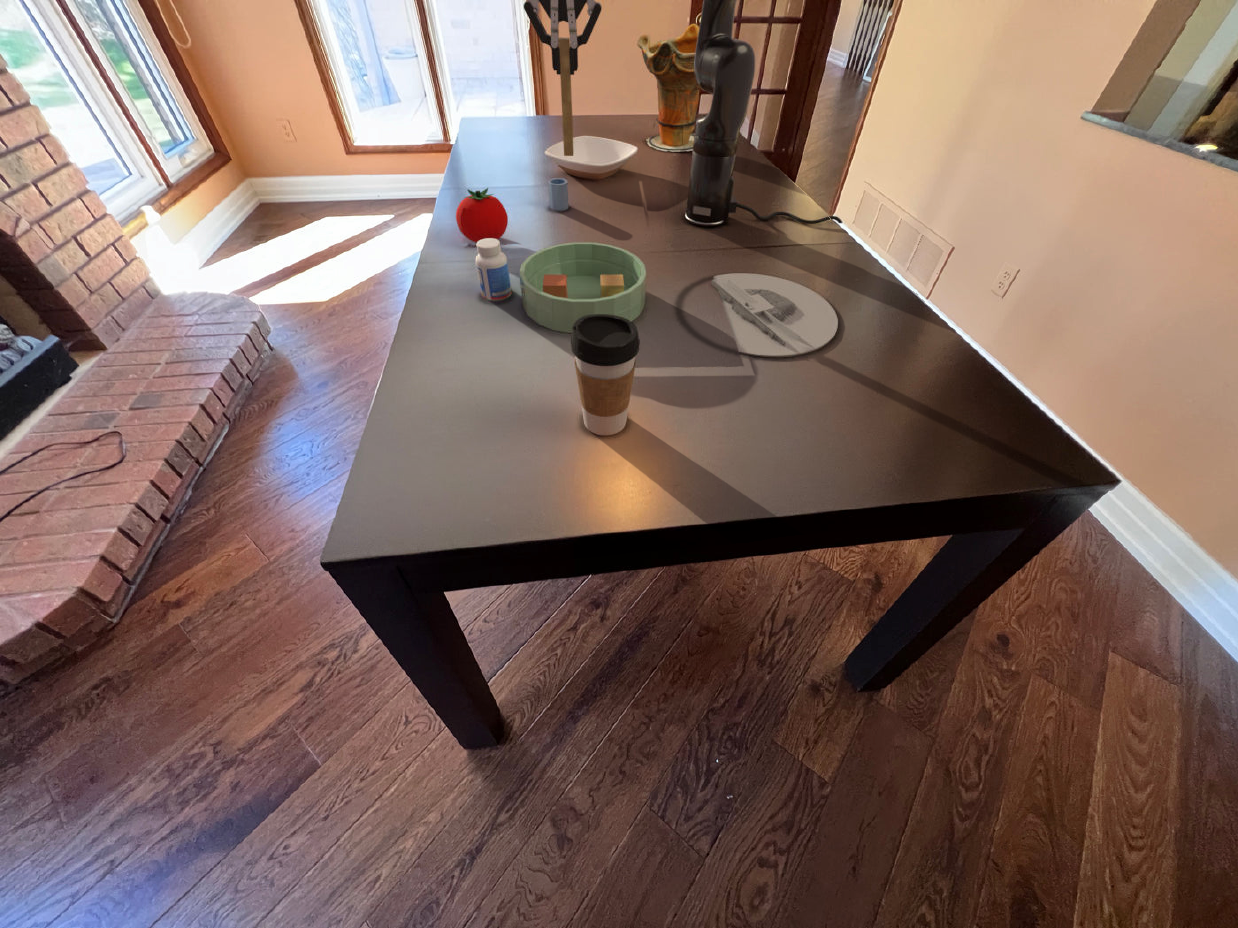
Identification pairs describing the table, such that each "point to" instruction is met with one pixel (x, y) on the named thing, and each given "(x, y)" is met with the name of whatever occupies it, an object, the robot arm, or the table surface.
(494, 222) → the tomato
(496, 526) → the table surface
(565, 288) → the block
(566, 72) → the stick
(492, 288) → the pill bottle
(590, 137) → the bowl
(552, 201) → the stick holder
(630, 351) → the coffee cup
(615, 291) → the block
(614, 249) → the stir bowl
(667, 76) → the decorative vase
